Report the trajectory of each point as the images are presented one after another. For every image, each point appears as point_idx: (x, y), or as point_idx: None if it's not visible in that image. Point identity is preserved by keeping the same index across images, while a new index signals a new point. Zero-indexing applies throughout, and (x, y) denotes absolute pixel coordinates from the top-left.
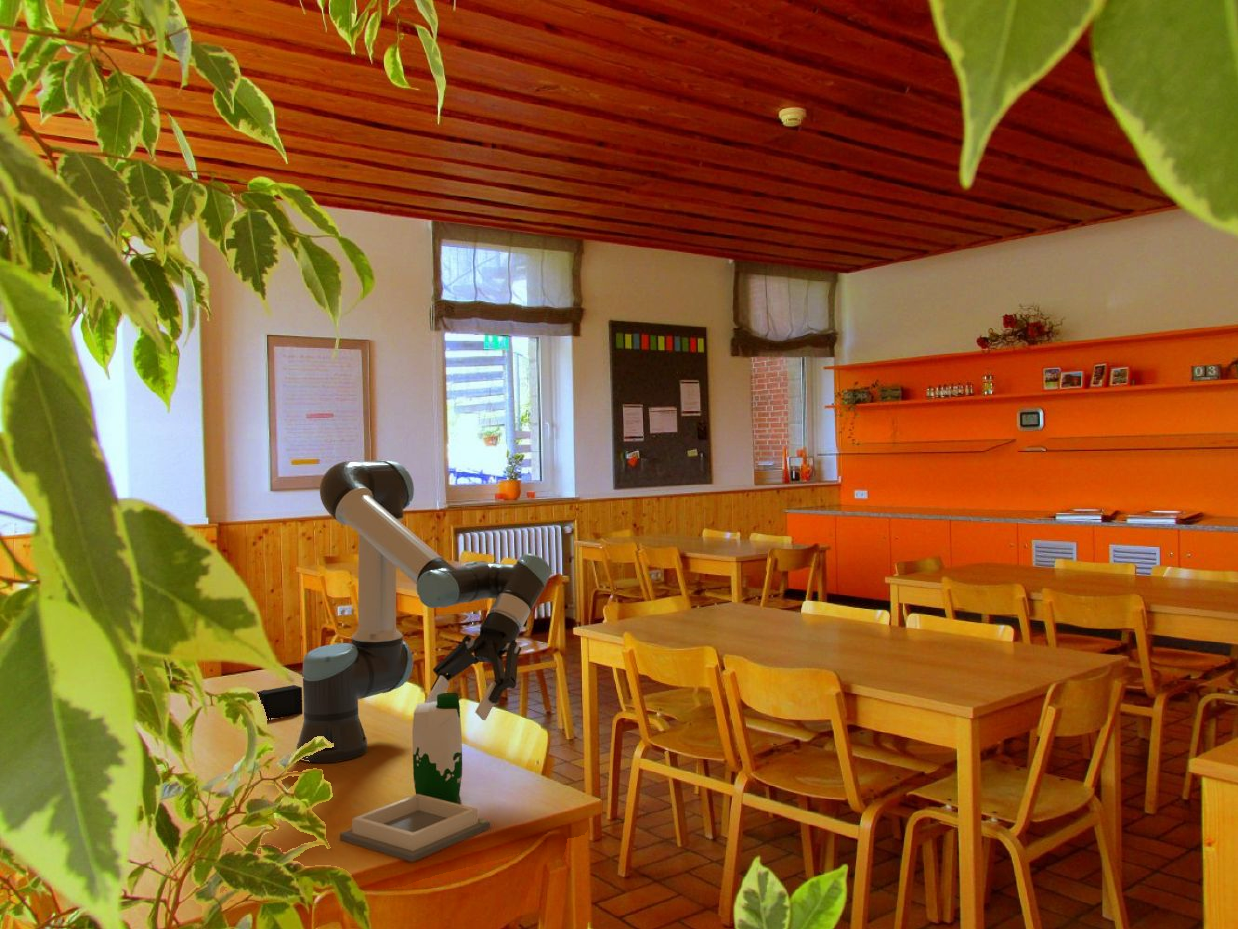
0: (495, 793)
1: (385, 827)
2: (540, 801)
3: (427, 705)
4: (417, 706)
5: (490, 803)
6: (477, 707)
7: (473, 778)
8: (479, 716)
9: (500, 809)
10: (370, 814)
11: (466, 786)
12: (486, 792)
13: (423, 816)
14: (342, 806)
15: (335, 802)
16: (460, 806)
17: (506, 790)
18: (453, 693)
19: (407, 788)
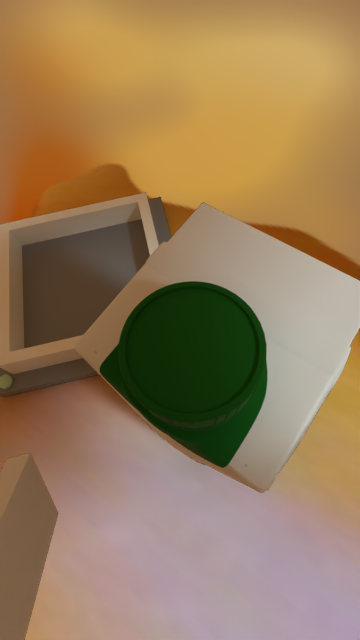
0: (169, 552)
1: (65, 210)
2: None
3: (293, 299)
4: (306, 257)
5: (117, 490)
6: (20, 477)
7: (332, 594)
8: (43, 487)
9: (66, 482)
10: (142, 218)
11: (275, 527)
12: (193, 538)
13: None
14: (317, 259)
15: (349, 258)
16: (38, 348)
17: (168, 597)
18: (218, 409)
19: (353, 401)
